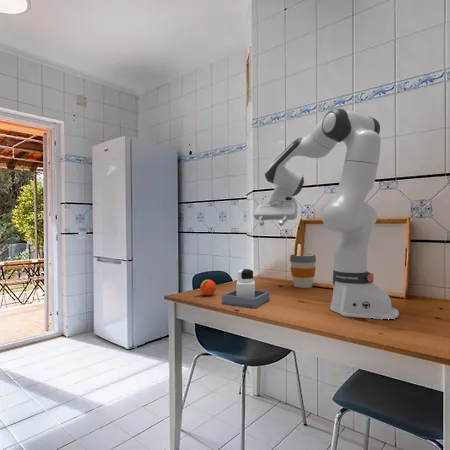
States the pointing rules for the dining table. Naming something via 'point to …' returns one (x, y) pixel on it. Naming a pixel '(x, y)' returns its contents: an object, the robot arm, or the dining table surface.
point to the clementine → (207, 287)
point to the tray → (246, 299)
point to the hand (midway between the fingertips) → (270, 224)
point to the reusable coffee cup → (303, 270)
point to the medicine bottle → (245, 284)
